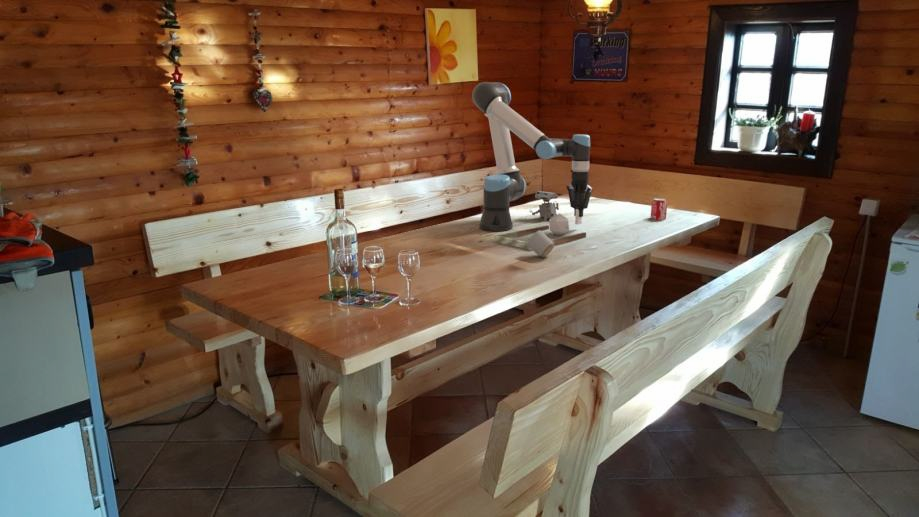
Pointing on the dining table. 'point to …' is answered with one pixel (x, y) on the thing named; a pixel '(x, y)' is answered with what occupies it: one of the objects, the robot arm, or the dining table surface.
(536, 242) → the ceramic mug
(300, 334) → the dining table surface
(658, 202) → the soda can
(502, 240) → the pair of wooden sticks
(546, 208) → the figurine
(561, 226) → the die
